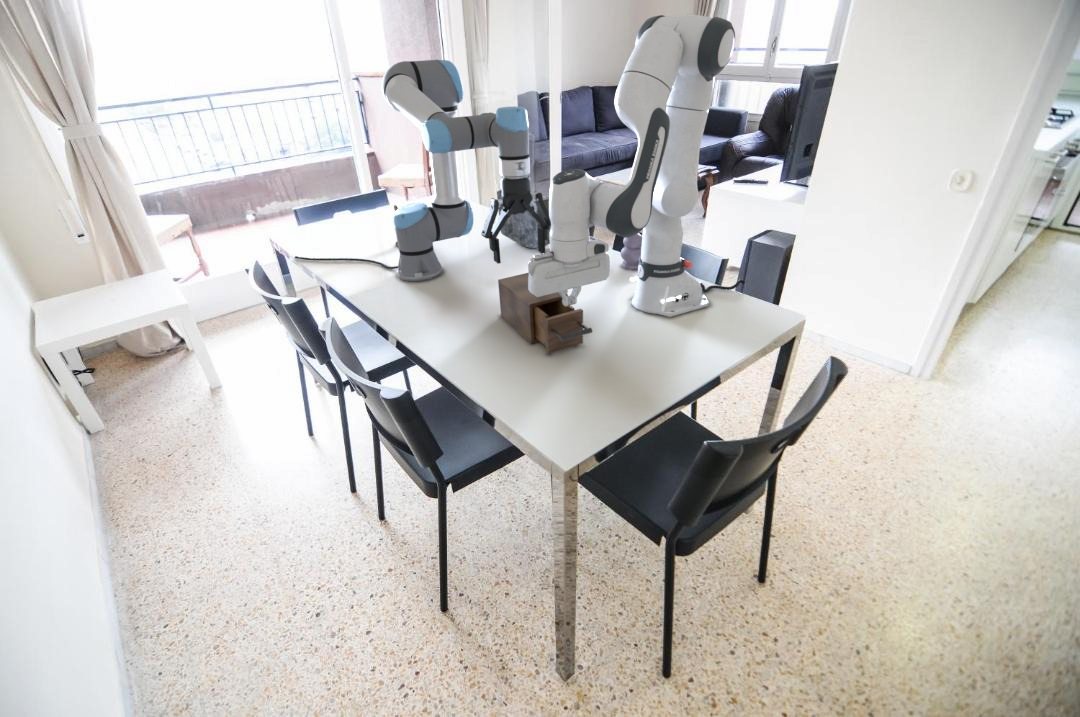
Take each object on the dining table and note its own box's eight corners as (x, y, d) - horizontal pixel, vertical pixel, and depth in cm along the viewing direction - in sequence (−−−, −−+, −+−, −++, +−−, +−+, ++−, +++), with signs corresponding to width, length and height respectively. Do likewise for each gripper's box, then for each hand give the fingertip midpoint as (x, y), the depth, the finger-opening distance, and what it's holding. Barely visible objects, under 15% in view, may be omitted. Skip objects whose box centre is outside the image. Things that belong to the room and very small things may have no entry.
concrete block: (555, 250, 192) (555, 197, 181) (537, 255, 188) (535, 201, 177) (517, 234, 210) (514, 185, 200) (499, 238, 206) (496, 189, 196)
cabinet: (568, 332, 135) (567, 294, 129) (531, 343, 131) (529, 304, 125) (535, 307, 150) (533, 271, 144) (501, 316, 145) (497, 279, 139)
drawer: (594, 352, 124) (595, 318, 119) (559, 363, 120) (559, 329, 115) (548, 316, 142) (548, 286, 137) (517, 325, 138) (515, 294, 133)
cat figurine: (648, 265, 175) (651, 232, 169) (635, 272, 170) (638, 238, 164) (628, 260, 180) (630, 227, 174) (615, 266, 175) (616, 233, 169)
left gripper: (474, 185, 117) (483, 270, 128) (565, 172, 126) (566, 252, 138) (463, 179, 122) (472, 261, 134) (551, 167, 132) (552, 244, 143)
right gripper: (534, 261, 104) (537, 320, 111) (614, 243, 112) (612, 299, 119) (521, 252, 109) (524, 309, 116) (599, 236, 117) (597, 290, 124)
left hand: (520, 257), depth 136 cm, fingers open, 13 cm apart
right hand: (569, 304), depth 118 cm, fingers closed
